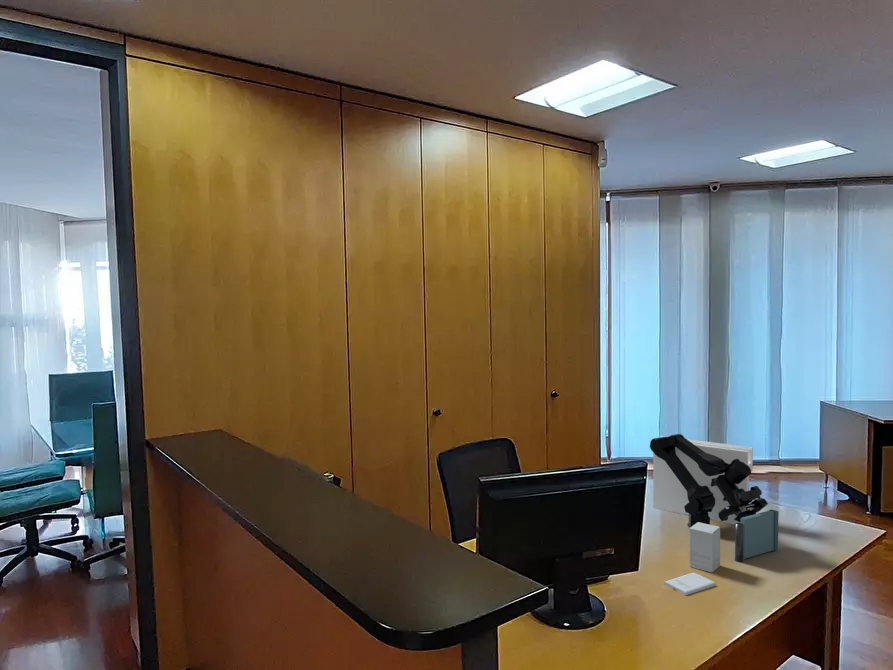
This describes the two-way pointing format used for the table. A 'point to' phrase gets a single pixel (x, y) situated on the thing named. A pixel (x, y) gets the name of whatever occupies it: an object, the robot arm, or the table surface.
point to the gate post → (739, 542)
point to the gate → (760, 533)
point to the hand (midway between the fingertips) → (758, 532)
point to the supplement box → (704, 546)
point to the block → (696, 478)
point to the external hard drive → (689, 583)
